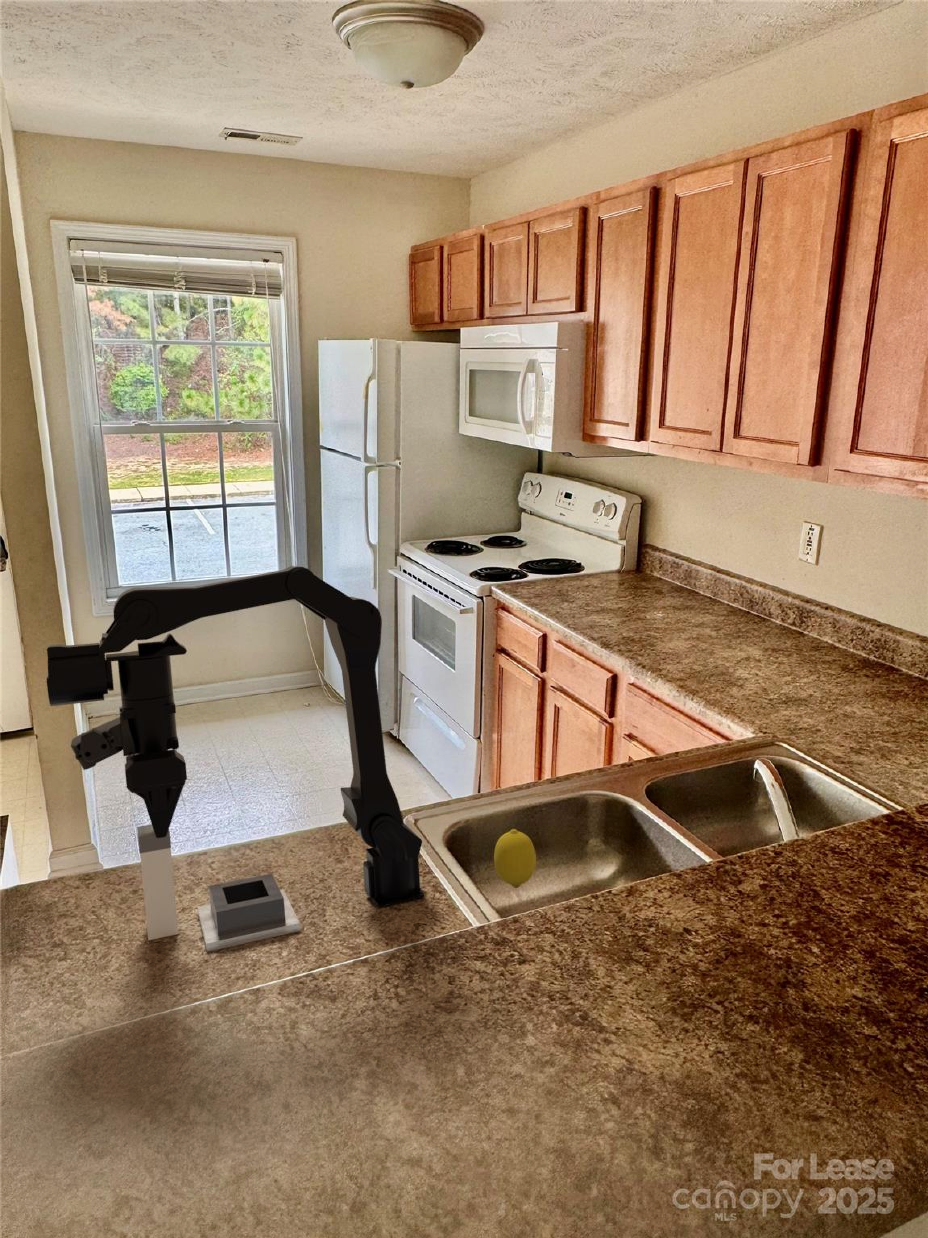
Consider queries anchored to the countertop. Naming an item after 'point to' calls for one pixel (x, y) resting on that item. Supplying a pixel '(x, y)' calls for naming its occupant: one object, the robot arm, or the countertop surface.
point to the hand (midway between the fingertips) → (159, 825)
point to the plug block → (157, 883)
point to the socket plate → (246, 912)
